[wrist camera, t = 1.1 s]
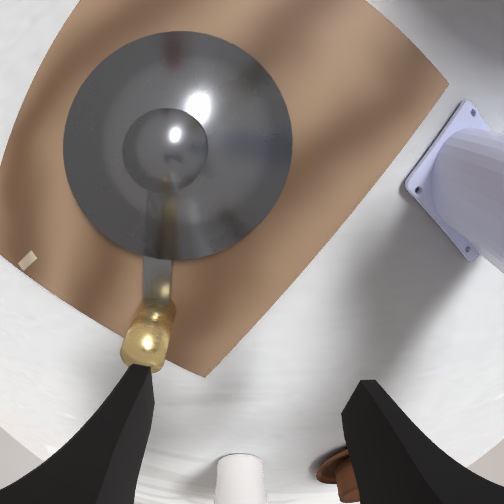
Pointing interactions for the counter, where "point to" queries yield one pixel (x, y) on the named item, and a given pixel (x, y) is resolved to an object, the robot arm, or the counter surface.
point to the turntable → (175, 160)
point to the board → (297, 184)
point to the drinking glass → (240, 480)
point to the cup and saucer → (340, 476)
